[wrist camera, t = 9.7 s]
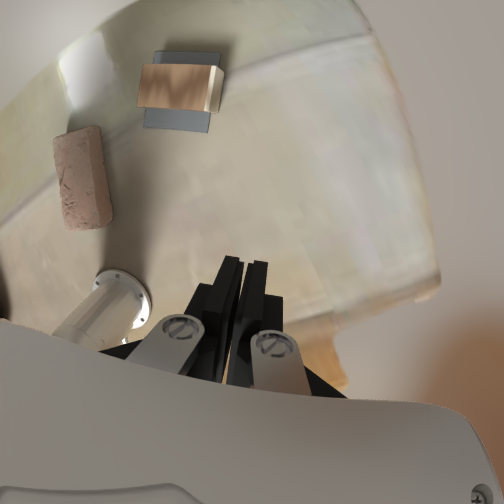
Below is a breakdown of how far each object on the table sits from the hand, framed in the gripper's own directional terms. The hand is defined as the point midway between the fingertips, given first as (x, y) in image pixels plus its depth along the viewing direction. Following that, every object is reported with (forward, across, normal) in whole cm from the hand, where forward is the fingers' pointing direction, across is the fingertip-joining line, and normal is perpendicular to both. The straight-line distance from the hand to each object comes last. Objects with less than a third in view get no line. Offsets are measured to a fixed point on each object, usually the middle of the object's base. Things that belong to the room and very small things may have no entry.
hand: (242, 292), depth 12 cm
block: (+29, +8, -11) cm, 32 cm away
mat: (+32, +14, -11) cm, 37 cm away
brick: (+33, +30, +3) cm, 45 cm away
